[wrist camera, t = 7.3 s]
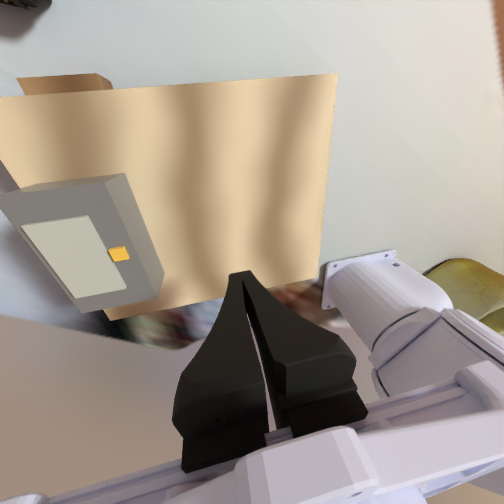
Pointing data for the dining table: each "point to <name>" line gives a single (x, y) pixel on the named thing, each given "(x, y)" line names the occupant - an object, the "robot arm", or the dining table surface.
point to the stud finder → (89, 239)
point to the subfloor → (190, 169)
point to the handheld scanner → (21, 3)
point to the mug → (473, 290)
